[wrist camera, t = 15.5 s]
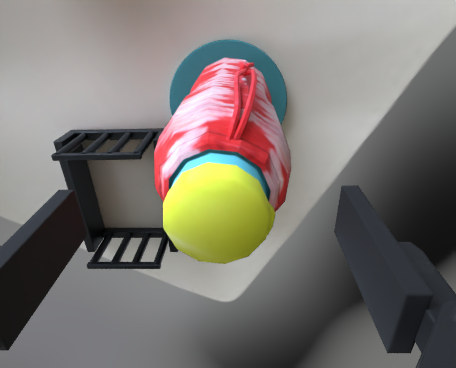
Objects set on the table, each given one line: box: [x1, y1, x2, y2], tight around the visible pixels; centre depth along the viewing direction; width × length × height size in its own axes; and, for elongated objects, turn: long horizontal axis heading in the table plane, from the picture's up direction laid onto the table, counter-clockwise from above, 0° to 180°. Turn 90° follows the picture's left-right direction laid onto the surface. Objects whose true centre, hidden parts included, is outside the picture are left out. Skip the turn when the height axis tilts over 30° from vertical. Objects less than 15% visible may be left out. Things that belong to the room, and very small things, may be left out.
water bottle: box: [154, 58, 291, 264], centre depth 24 cm, size 12×8×25 cm, turn 159°
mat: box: [170, 40, 287, 124], centre depth 35 cm, size 13×13×1 cm
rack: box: [51, 128, 178, 269], centre depth 38 cm, size 12×15×7 cm
